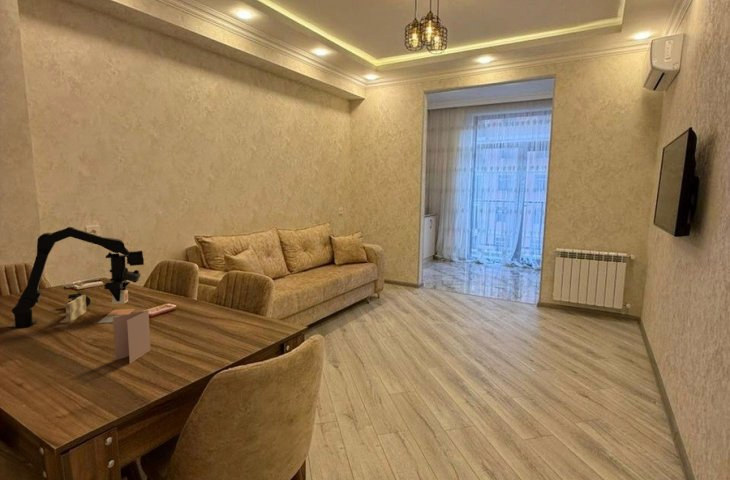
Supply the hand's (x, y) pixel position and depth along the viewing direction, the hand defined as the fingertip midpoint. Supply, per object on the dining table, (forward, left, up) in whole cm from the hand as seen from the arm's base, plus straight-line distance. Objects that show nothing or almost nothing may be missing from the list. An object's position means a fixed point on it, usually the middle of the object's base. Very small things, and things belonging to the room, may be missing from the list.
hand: (120, 299), depth 184 cm
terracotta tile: (0, 0, -6) cm, 6 cm away
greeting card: (-55, -22, -7) cm, 60 cm away
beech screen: (-2, +18, -6) cm, 19 cm away
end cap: (+13, +22, -7) cm, 26 cm away
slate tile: (-10, 0, -6) cm, 12 cm away
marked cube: (0, 0, -1) cm, 1 cm away
